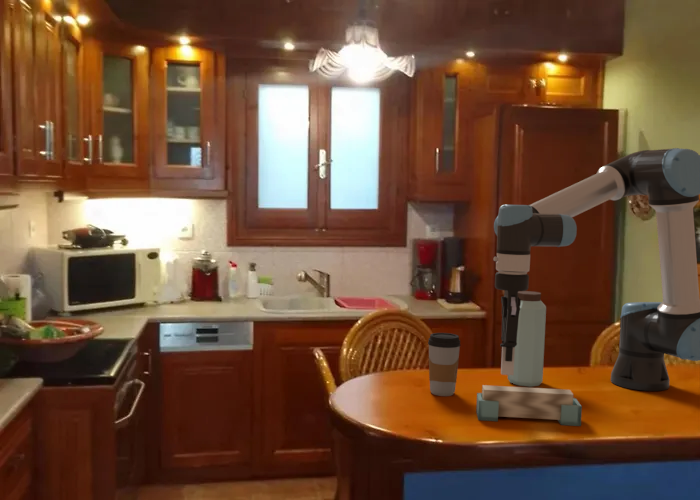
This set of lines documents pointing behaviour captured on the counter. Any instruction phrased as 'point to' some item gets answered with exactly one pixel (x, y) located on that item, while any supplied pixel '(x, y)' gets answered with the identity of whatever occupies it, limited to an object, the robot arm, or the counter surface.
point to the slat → (528, 401)
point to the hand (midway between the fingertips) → (507, 373)
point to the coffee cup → (443, 363)
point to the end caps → (490, 408)
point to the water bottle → (529, 341)
